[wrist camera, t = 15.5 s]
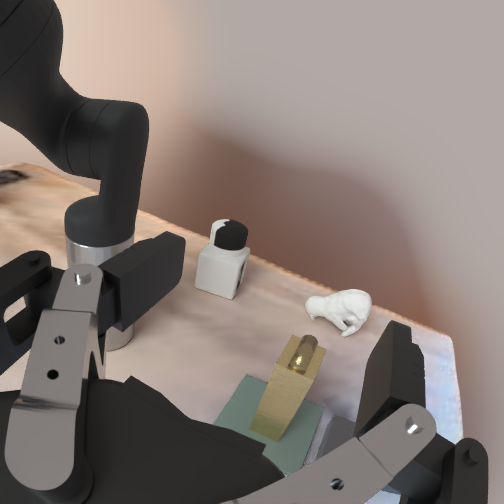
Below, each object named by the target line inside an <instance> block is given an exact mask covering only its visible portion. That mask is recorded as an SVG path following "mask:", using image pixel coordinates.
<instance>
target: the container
mask: <svg viewBox="0 0 504 504" xmlns="http://www.w3.org/2000/svg"><path fill="white" fill-rule="evenodd" d="M247 235H248V229H247V228H246V227H245V226H244V225H243V224H241V223H239V222H237V221H234V220H229V219H224V220H218V221H216V222H214V223H213V225H212V230H211V236H210V241H209V243H208V244H207V245H206V246H205V247H204V249H203V250H202V251H201V252H200V253H199V258H198V265H197V272H196V279H195V288H198V289H201V290H204V291H207V292H209V293H212V294H215V295H218V296H221V297H224V298H227V299H230V300H232V299H233V297H234V296H235V294H236V292H237V290H238V288H239V286H240V285H241V283H242V281H243V278H244V274H245V269H246V265H247V261H248V257H249V253H250V249H249V248H248V247H245V244H246V240H247Z"/></svg>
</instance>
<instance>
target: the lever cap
mask: <svg viewBox="0 0 504 504" xmlns="http://www.w3.org/2000/svg"><path fill="white" fill-rule="evenodd" d="M317 345H318V341H317V339H316V338H315V337H314V336H312V335H305V336H303V337H302V339H301V338H299V337H296V336H294V335H292V336H291V338H290V340H289V342H288V344H287V345H286V347H285V349H284V351H283V352H282V354H281V356H280V358H279V359H278V361H277V363H276V365H275V367H274V370H273V372H272V375H271V377H270V380H269V382H268V384H267V387H266V389H265V392H264V394H263V396H262V399H261V401H260V403H259V406H258V408H257V410H256V413H255V415H254V417H253V420H252V422H251V424H250V426H249V430H251V431H253V432H255V433H258V434H260V435H262V436H264V437H266V438H268V439H271V440H273V441H275V442H278V441H279V439H280V437H281V436H282V434H283V433H284V431H285V429H286V428H287V426H288V425H289V423H290V421H291V420H292V418H293V416H294V415H295V413H296V411H297V410H298V408H299V406H300V404H301V403H302V401H303V399H304V397H305V396H306V394H307V392H308V390H309V389H310V387H311V385H312V383H313V381H314V379H315V377H316V374H317V372H318V370H319V367H320V365H321V362H322V360H323V357H324V354H325V352H326V349H324V348H322V347H320V346H317Z"/></svg>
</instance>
